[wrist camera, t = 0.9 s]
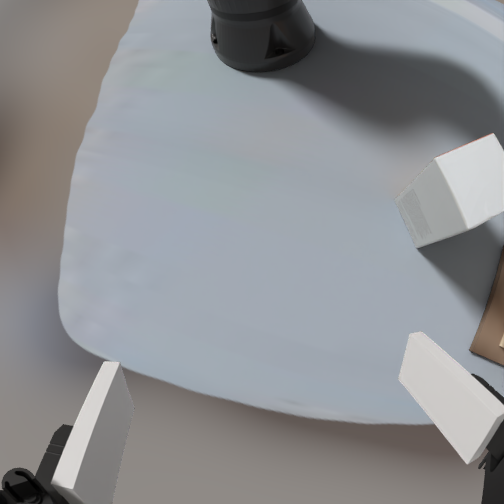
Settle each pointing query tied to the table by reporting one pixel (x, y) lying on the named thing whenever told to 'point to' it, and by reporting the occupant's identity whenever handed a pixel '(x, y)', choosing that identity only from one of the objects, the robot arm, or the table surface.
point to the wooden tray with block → (492, 322)
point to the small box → (455, 192)
